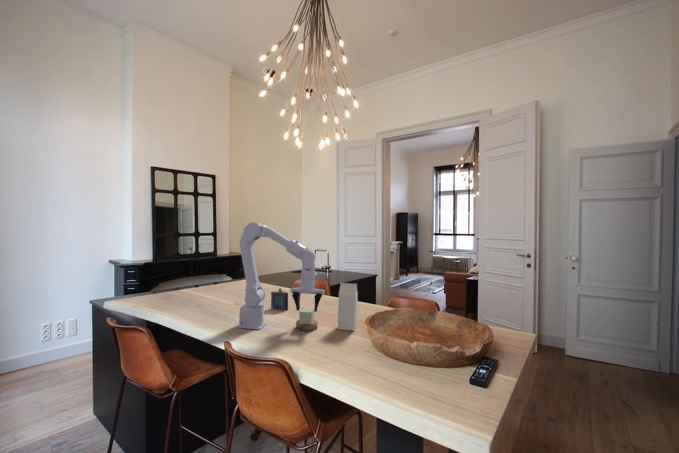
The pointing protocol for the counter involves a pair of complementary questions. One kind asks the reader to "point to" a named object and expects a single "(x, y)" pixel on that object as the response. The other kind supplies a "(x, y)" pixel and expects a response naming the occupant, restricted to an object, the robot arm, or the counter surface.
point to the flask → (279, 300)
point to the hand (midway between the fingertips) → (306, 310)
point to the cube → (306, 316)
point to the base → (306, 326)
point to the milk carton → (347, 306)
